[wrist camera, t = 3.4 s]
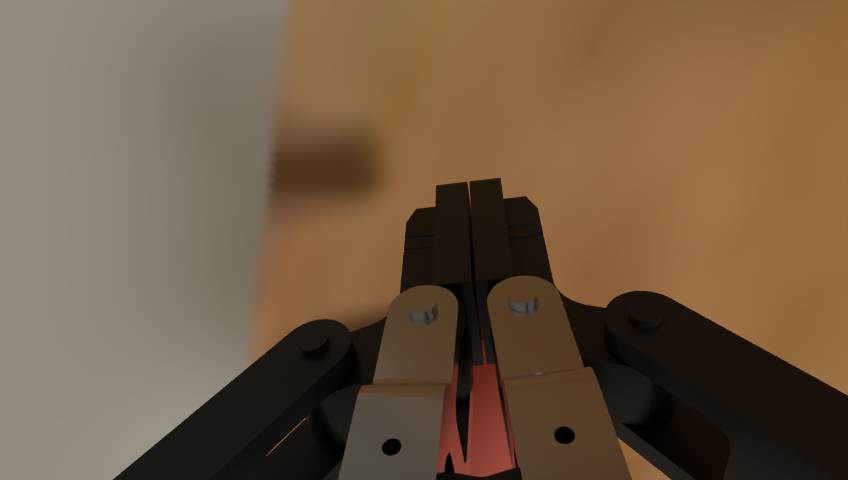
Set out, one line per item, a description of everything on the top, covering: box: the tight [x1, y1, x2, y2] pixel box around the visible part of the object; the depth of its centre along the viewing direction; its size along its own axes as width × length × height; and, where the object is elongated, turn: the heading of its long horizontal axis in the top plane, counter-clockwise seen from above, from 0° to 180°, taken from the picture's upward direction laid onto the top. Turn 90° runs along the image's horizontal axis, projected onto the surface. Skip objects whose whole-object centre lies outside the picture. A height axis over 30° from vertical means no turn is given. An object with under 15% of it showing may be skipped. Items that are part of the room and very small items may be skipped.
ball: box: [470, 340, 512, 477], centre depth 19 cm, size 6×6×6 cm
